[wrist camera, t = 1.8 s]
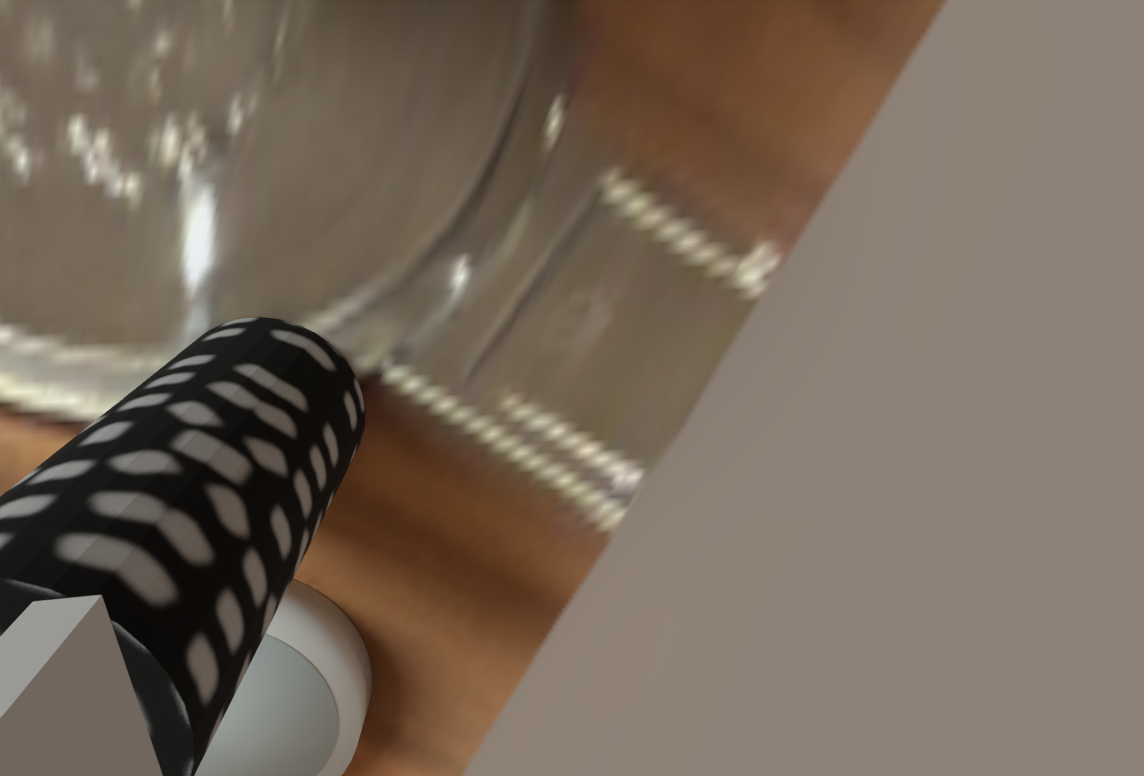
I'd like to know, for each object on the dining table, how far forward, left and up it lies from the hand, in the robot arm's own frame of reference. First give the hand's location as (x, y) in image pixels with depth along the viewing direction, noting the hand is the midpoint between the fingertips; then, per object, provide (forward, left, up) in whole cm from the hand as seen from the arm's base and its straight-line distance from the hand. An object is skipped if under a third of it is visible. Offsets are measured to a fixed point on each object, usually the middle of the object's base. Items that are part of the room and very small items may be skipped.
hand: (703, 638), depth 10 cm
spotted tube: (-11, -13, -29) cm, 33 cm away
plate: (-9, -27, -28) cm, 40 cm away
